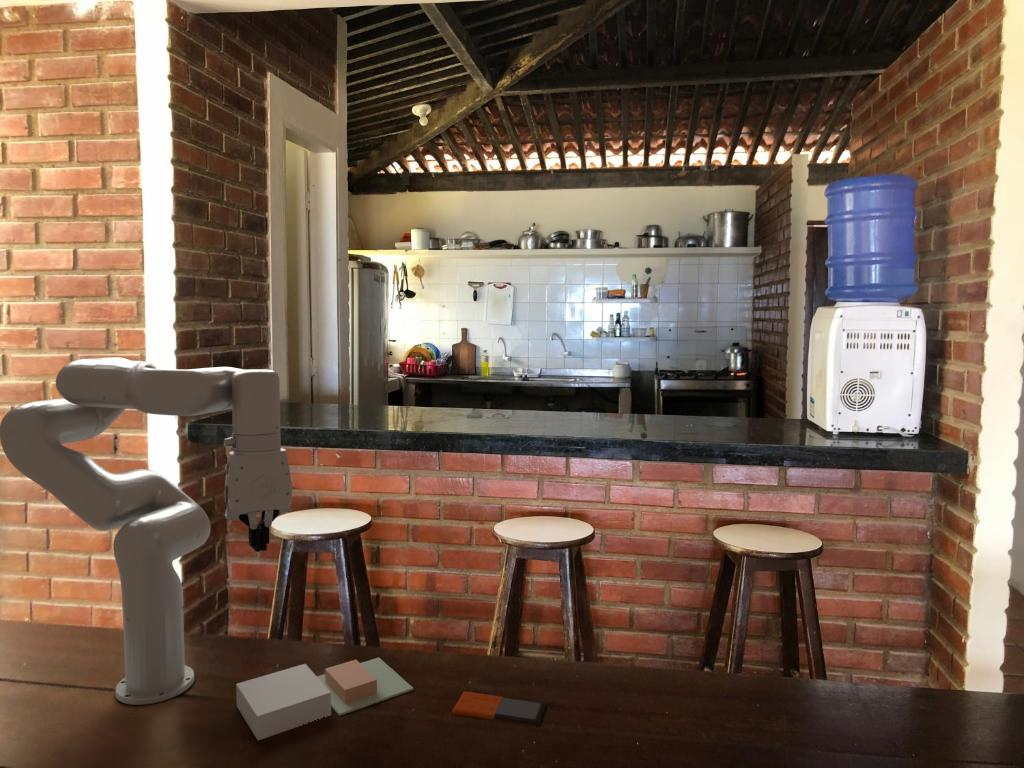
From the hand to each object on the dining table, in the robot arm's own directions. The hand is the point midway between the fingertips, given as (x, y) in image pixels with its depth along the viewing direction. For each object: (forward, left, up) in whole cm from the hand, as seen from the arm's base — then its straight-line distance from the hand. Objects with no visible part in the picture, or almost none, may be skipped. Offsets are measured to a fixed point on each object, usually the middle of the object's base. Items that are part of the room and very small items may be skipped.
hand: (259, 549), depth 116 cm
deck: (+5, +2, -27) cm, 28 cm away
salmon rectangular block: (+5, +14, -24) cm, 28 cm away
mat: (+5, +16, -27) cm, 32 cm away
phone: (+26, +32, -28) cm, 50 cm away
